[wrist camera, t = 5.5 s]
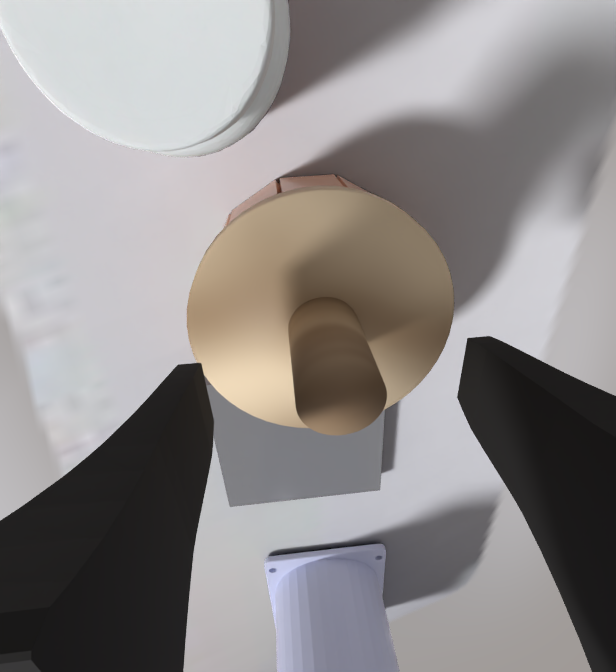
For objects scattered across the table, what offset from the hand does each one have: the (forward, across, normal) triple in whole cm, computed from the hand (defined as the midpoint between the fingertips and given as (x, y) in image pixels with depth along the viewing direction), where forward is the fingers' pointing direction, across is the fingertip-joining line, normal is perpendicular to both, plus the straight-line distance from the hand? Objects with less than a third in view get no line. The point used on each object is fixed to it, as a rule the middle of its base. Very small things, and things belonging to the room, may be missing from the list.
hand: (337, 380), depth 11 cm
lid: (+4, 0, 0) cm, 4 cm away
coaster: (+7, +1, +8) cm, 11 cm away
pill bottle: (+7, +3, -8) cm, 11 cm away
